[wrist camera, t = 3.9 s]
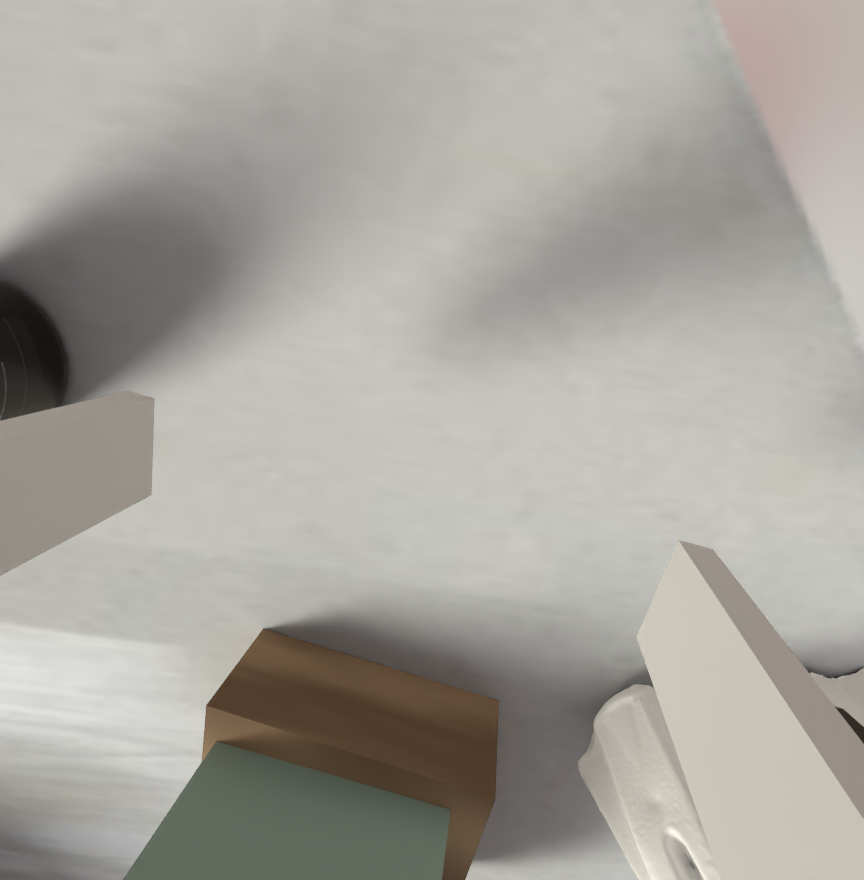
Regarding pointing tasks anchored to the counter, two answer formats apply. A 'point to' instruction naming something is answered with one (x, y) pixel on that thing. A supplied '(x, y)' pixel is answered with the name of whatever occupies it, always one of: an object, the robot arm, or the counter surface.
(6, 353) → the supplement bottle
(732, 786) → the robot arm
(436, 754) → the walnut base block
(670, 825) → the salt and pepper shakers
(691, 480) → the counter surface
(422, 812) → the sage top block
